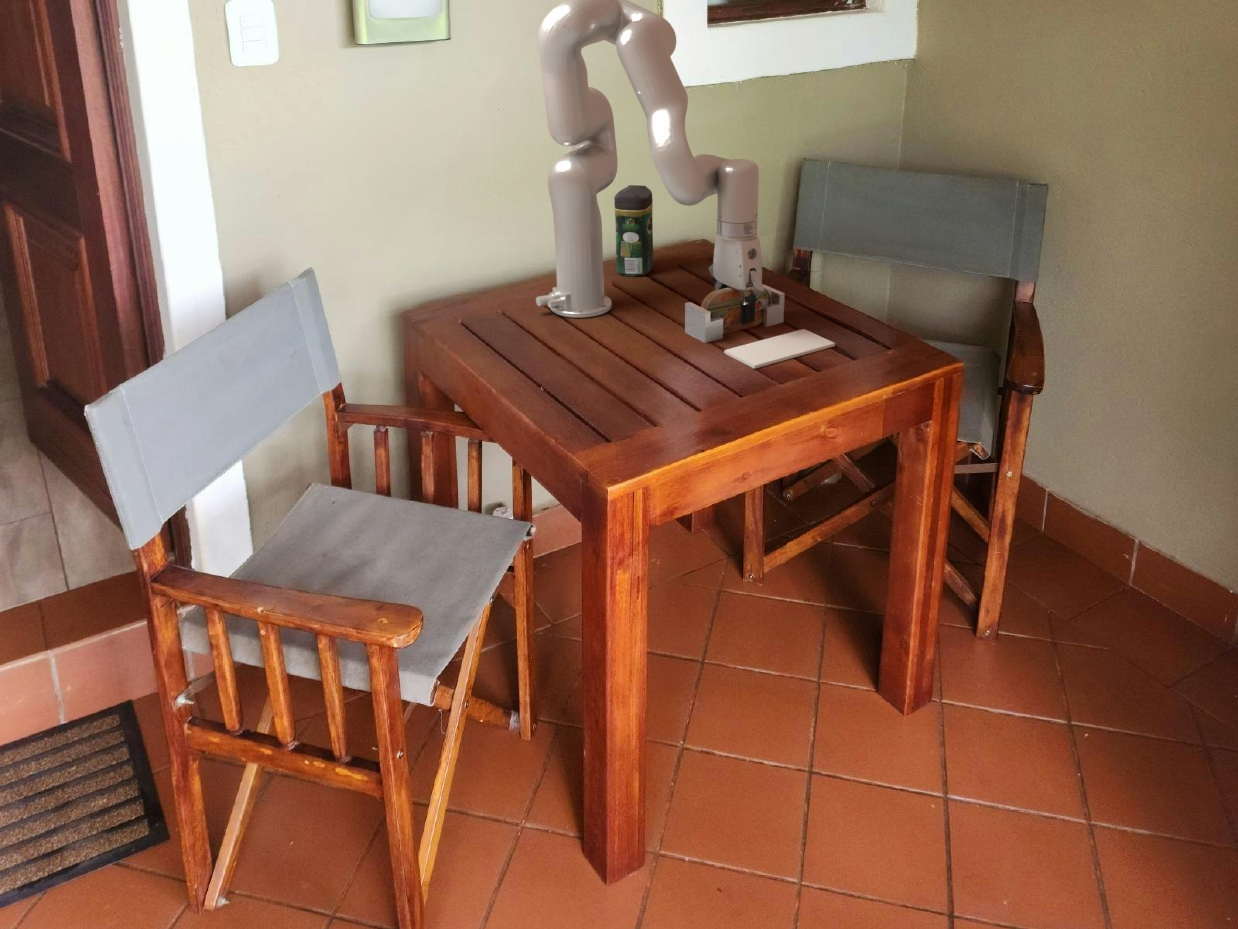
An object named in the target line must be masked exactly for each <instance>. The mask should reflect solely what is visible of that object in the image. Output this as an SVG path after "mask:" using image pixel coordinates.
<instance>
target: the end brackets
mask: <svg viewBox="0 0 1238 929" xmlns="http://www.w3.org/2000/svg"><path fill="white" fill-rule="evenodd" d="M762 285H763V287H764V288H765V289H766V290H767V291H768V293H769V295H770V299H771V304H770V305H766V306H764V321H763V322H762V323H763V326H764V327H766V328H767V327H770V326H776V325H778V324H783V323H784V320H785V319H784V314H785V292H782V291H780V290H777V289H775V288H773V287H771V286H768V285H766V284H763V283H762ZM684 319H685V320H684V333H685V334H687V335H689V336H690V337H693V338H695V339H696V340H699V341H701V342H702V343H704V344H707V343H709V342H710V343H711V342H714V341H717V340H721V339H723V338H724V336H723V318H721V317H718V318H714V319H710V311H708V310H706V309H704V308H702V307H701V306H699V305H697V304H695V303H693V302H692V301H691V302H685V303H684Z"/></svg>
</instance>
